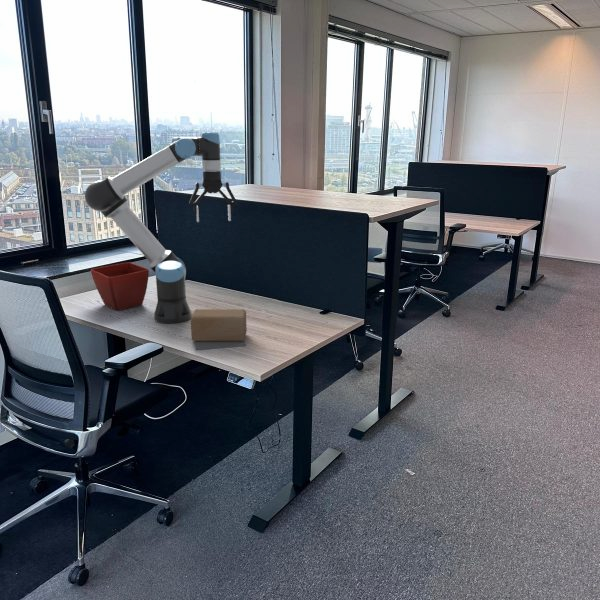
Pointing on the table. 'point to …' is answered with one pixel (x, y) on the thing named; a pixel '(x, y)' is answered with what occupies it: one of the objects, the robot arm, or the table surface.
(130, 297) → the plant pot
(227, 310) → the block
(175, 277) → the robot arm
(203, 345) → the mat
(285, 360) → the table surface
